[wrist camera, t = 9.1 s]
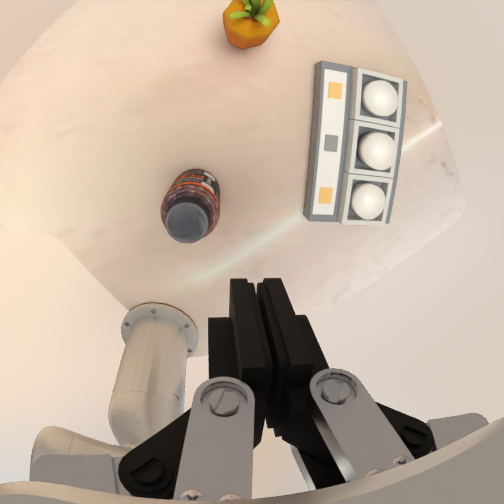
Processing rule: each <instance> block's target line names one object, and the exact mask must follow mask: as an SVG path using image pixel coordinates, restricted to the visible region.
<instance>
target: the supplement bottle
mask: <svg viewBox="0 0 504 504" xmlns="http://www.w3.org/2000/svg"><path fill="white" fill-rule="evenodd" d="M219 213H220V189H219V185H218V183H217V181H216V179H215V178H214V177H213V176H212V175H211V174H210V173H208V172H206V171H204V170H200V169H192V170H188V171H185V172H184V173H182V174H181V175H180V176H178V178H177V179H176V180H175V181H174V183H173V185H172V186H171V188H170V189H169V191H168V192H167V194H166V196H165V197H164V200H163V202H162V205H161V218H162V222H163V224H164V226H165V227H166V229H167V231H168V233H169V234H170V236H171V237H172V238H174V239H175V240H176V241H179V242H181V243H193V242H197V241H198V240H200V239H202V238H204V237H206V236H207V235H208V234H210V233H211V232H212V231H213V229H214V228H215V226H216V224H217V222H218V219H219Z"/></svg>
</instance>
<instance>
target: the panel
mask: <svg viewBox="0 0 504 504" xmlns="http://www.w3.org/2000/svg"><path fill="white" fill-rule="evenodd" d="M378 80H383V81H386V82H388V83H390V84H391V85H392V86H393V87H394V88H395V90H396V92H397V95H398V106H397V109H396V110H395V112H394V113H392V114H391V115H389V116H378V115H372V114H369V113H368V112H367V111H365V110H364V108H363V107H362V105H361V90H362V86H363V85H364V84H365V83H367V82H370V81H378ZM406 94H407V81H404V80H403V79H399V78H396V77H393V76H389V75H386V74H382V73H378V72H374V71H371V70H366V69H362V68H355V67H351V66H346V65H341V64H336V63H331V62H325V61H321V62H318V63H316V64H315V82H314V100H313V115H312V129H311V141H310V154H309V165H308V176H307V186H306V196H305V205H304V216H305V217H306V218H307V220H308V221H325V222H340V223H341V224H344V225H378V226H385V223H388V224H389V220H390V215H391V210H392V205H393V200H394V194H395V188H396V182H397V176H398V170H399V163H400V156H401V148H402V139H403V130H404V120H405V109H406ZM369 132H378V133H383V134H386V135H388V136H390V137H391V138H392V139H393V140H394V142H395V144H396V147H397V156H396V159H395V161H394V163H393V164H392V166H391V167H389V168H388V169H385V170H376V169H374V168H372V167H369V166H367V165H365V164H364V163H363V162H362V161H361V159H360V157H359V155H358V144H359V141H360V139H361V138H362V137H363V136H364V135H365V134H366V133H369ZM364 181H366V182H370V183H372V184H374V185H376V186H377V187H379V188H380V189H381V190H382V191H383V192H384V194H385V199H386V201H385V207H384V209H383V211H382V212H381V214H380V215H378V216H377V217H376V218H374V219H368V220H367V219H363V218H361V217H360V216H359V215H357V214H356V213H355V212H354V211H353V210H352V209H351V208H350V206H349V203H350V196H351V189H352V188H353V187H354V186H355V185H356V184H357V183H359V182H364Z"/></svg>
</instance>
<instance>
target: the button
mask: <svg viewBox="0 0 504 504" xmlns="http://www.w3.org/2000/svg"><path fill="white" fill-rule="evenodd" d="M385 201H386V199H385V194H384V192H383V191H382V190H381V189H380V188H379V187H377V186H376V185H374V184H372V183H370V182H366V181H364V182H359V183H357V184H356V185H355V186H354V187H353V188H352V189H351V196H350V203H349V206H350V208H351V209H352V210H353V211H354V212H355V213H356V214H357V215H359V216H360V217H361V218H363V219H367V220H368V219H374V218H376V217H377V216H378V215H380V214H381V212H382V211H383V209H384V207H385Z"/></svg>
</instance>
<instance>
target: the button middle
mask: <svg viewBox="0 0 504 504" xmlns="http://www.w3.org/2000/svg"><path fill="white" fill-rule="evenodd" d="M358 155H359V157H360V159H361V161H362V162H363V163H364V164H365V165H367V166H369V167H372V168H374V169H376V170H385V169H388V168H389V167H391V166H392V164H393V163H394V161H395V159H396V156H397V147H396V144H395V142H394V140H393V139H392V138H391V137H390V136H388V135H386V134H383V133H378V132H369V133H366V134H365V135H364V136H363V137H362V138H361V139H360V141H359V144H358Z"/></svg>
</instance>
